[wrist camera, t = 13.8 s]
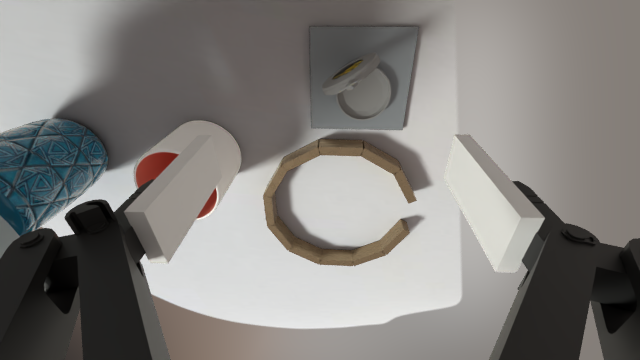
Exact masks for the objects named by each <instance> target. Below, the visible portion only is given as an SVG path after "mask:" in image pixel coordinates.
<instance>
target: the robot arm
mask: <svg viewBox="0 0 640 360" xmlns="http://www.w3.org/2000/svg"><path fill="white" fill-rule="evenodd" d="M221 178H222V174H221V170H220V167H219V163H218V159H217V155H216V151H215V147H214V143H213V139H212V135H198V136H197V137H196V138H195V139H194V140H193V141H192V142H191V143H190V144H189V145H188V146H187V147H186V148H185V149H184V150H183V151H182V152H181V153H180V154H179V155H178V156H177V157H176V158H175V159H174V160H173V162H172V163H171V164H170V165H169V166H168V167H167V168H166V169H165V170H164V171H163V172H162V173H161V174H160V175H159V176H158V177H157V178H156V179H151V180H150V181H148V182H146V183H145V184H143V185H141V186H140V187H139V188H138V189H137V190H136V191H135V193H134V194H132V195H131V196H130V197H129V199H127V200H126V201H125V202H124V203H123V204H122V205H121V206H120V207H119V208H118V209H117V210H116V211H115V212H114V213H113V211H112V209H111V207H110V205H109V203H108V202H107V201H105V200H92V201H88V202H85V203H82V204H80V205H77V206H76V207H74V208H72V209H71V210H70V211H69V212H68V213H67V214H66V216H65V220H66V221H67V223H68V224H69V226H70V227H71V229H72V230H73V232H74V233H75V234H73V235H68V236H63V237H58V236H57V234H56V233H55V232H54V231H53V230H52V229H49V228H44V229H37V230H34V231H30V232H28V233H26V234H23V235H21V236H20V237H19V238H17V239H16V240H14V241H13V242H12V243H11V244H10V245H9V246H8V248H7V249H6V251H5V252H4V254H3V255H2V257H1V258H0V360H65V357H66V353H67V350H68V347H69V343H70V340H71V336H72V333H73V329H74V326H75V322H76V319H77V316H78V313H79V309H80V312H81V330H82V347H83V360H171V359H170V356H169V353H168V349H167V346H166V343H165V340H164V336H163V333H162V329H161V326H160V323H159V319H158V316H157V313H156V309H155V306H154V303H153V300H152V296H151V293H150V289H149V286H148V283H147V279H146V276H145V273H144V269H143V266H142V264H141V262H140V259H141V258H142V257H143V255H144V254H146V256H147V258H148V260H149V262H150V263H166V264H168V263H169V261H170V260H171V258H172V256H173V255H174V253H175V252H176V250H177V248H178V247H179V245H180V244H181V242H182V240H183V239H184V237H185V236H186V234H187V232H188V231H189V229H190V228H191V226H192V224H193V223H194V221H195V220H196V218H197V216H198V215H199V213H200V212H201V210H202V208H203V207H204V205H205V204H206V202H207V200H208V199H209V197H210V196H211V194H212V192H213V191H214V189H215V188H216V186H217V184H218V183H219V181H220V180H221ZM444 180H445V182H446V184H447V185H448V187H449V189H450V191H451V193H452V194H453V196H454V198H455V200H456V202H457V203H458V205H459V207H460V209H461V211H462V212H463V214H464V216H465V218H466V220H467V221H468V223H469V225H470V227H471V228H472V230H473V232H474V234H475V236H476V237H477V239H478V241H479V243H480V245H481V246H482V248H483V250H484V252H485V254H486V255H487V257H488V259H489V261H490V263H491V264H492V266H493V268H494V270H495V271H496V272H513V273H516V272H517V270H518V268H519V267H520V265H521V263H522V262H523V263H524V265H525V266H526V268H527V269H528V271H527V273H526V275H525V276H524V278H523V280H522V282H521V284H520V285H519V287H518V290H519V291H518V293H517V295H516V298H515V300H514V302H513V305H512V307H511V309H510V312H509V314H508V316H507V319H506V321H505V323H504V326H503V328H502V330H501V333H500V335H499V337H498V340H497V342H496V345H495V347H494V349H493V351H492V354H491V356H490V359H489V360H579V356H580V350H581V345H582V340H583V334H584V329H585V324H586V319H587V314H588V308H589V303H590V301H591V305H592V309H593V313H594V318H595V323H596V327H597V331H598V336H599V340H600V344H601V349H602V353H603V357H604V360H640V238H639V239H632V240H631V241H629V243H628V244H627V245H626V246H625V247H624V248H622V247H617V246H612V245H608V244H603V243H600V242H599V240H598V239H597V238H596V237H595V236H594V235H593V234H592V233H590V232H589V231H587V230H585V229H583V228H581V227H578V226H575V225H571V224H565V223H564V222H563V221H561V219H560V218H559V217H558V216H557V215H556V214H555V213H554V212H553V211H552V210H551V209H550V208H549V207H548V206H547V205H546V204H544V202H543V201H542V200H541V199H540V198H539V197H538V196H537V195H536V194H535V192H534V191H533V190H531V189H530V188H529V187H528V186H526V185H524V184H523V183H521V182H519V181H511V180H510V179H509V178H508V176H507V175H506V174H505V173H504V172H503V171H502V170H501V169H500V168H499V167H498V165H497V164H496V163H495V162H494V161H493V160H492V159H491V158H490V157H489V156H488V154H487V153H486V152H485V151H484V150H483V149H482V148H481V147H480V146H479V145H478V143H477V142H476V141H475V140H474V139H473V138H472V137H471V136H470V135H454V139H453V143H452V147H451V151H450V155H449V159H448V163H447V167H446V171H445V175H444Z"/></svg>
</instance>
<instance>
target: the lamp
mask: <svg viewBox="0 0 640 360" xmlns="http://www.w3.org/2000/svg"><path fill="white" fill-rule="evenodd" d="M107 165H108V156H107V152H106V149H105V147H104V145H103V143H102V142H101V141H100V139H99V138H98V137H97V136H96V135H95V134H94V133H93V132H92V131H90V130H89V129H88V128H86V127H84V126H83V125H81V124H78V123H76V122H73V121H70V120H66V119H57V118H54V119H45V120H40V121H36V122H32V123H29V124H26V125H23V126H20V127H17V128H13V129H10V130H8V131H5V132H2V133H0V258H1V257H2V255H3V254H4V252H5V251H6V249H7V248H8V246H9V245H10V244H11V243H12V242H13V241H14V240H16V239H17V238H19V237H20V236H21V235H23V234H26V233H28V232H30V231H34V230H37V229H38V228H40V227H41V226H43V225H44V224H45V223H47V222H48V221H49V220H51V219H52V218H53V217H55V216H56V215H57V214H58V213H60V212H61V211H62V210H64V209H65V208H66V207H67V206H69V205H70V204H71V203H72V202H74V201H75V200H76V199H77V198H78V197H80V196H81V195H82V194H83V193H85V192H86V191H87V190H88V189H89V188H90V187H91V186H93V185H94V184H95V183H96V182H97V181H98V180H99V179H100V178H101V176H102V175H103V174H104V172H105V171H106V168H107Z"/></svg>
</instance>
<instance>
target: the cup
mask: <svg viewBox="0 0 640 360" xmlns="http://www.w3.org/2000/svg"><path fill="white" fill-rule="evenodd" d="M198 135H212V139H213V143H214V147H215V151H216V155H217V159H218V163H219V167H220V170H221V174H222V178H221V180H220V181H219V183H218V184H217V186H216V188H215V189H214V191H213V192H212V194H211V196H210V197H209V199H208V200H207V202H206V204H205V205H204V207H203V208H202V210H201V212H200V213H199V215H198V216H197V218H196V220H199V219H203V218H205V217H207V216H209V215H210V214H212V213H213V212H214V211H215V209H216V208H217V206H218V205H219V203H220V201H221V200H222V198H223V196H224V195H225V193H226V191H227V190H228V188H229V186H230V185H231V183H232V181H233V180H234V178H235V176H236V175H237V173H238V171H239V169H240V166H241V152H240V148H239V146H238V144H237V142H236V140H235V139H234V138H233V136H232V135H231V134H230V133H229V132H228V131H226V130H225V129H224V128H222V127H221V126H219V125H217V124H214V123H212V122H208V121H201V120H196V121H190V122H187V123H184V124H182V125H181V126H179V127H178V128H177V129H175V130H174V131H173V132H172V133H170V134H169V135H168V136H167V137H165V138H164V139H163V140H162V141H160V142H159V143H158V144H156V145H155V146H154V147H153V148H151V149H150V150H149V151H148V152H146V153H145V154H144V155H142V156H141V157H140V158H139V160H138V161H137V163H136V165H135V168H134V181H135V184H136V187H137V189H138V188H139V187H140V186H141V185H143V184H145V183H146V182H148V181H150V180H151V179H156V178H157V177H158V176H159V175H160V174H161V173H162V172H163V171H164V170H165V169H166V168H167V167H168V166H169V165H170V164H171V163H172V162H173V160H174V159H175V158H176V157H177V156H178V155H179V154H180V153H181V152H182V151H183V150H184V149H185V148H186V147H187V146H188V145H189V144H190V143H191V142H192V141H193V140H194V139H195V138H196V137H197V136H198Z"/></svg>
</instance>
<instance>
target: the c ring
mask: <svg viewBox="0 0 640 360" xmlns="http://www.w3.org/2000/svg"><path fill="white" fill-rule="evenodd" d="M320 155H338V156H362V157H363V158H365V159H367V160H369V161H370V162H372V163H374V164H376V165H378V166H379V167H381V168H383V169H385V170H386V171H388V172H390V173H392V174H394V176H395V178H396V180H397V182H398V184H399V186H400V188H401V190H402V192H403V194H404V196H405V198H406V199H407V201H408V203H412V202H414V201H417V200H416V197H415V195H414V192H413V190H412V188H411V186H410V184H409V182H408V180H407V178H406V175H405V173H404V171H403V169H402V167H401V165H400V163H399V161H398V160H397V159H395V158H393V157H391V156H390V155H388V154H386V153H384V152H383V151H381V150H379V149H378V148H376V147H374V146H372V145H371V144H369V143H367V142H365V141H364V140H363V142H362V140H342V139H320V141H319V139H318V140H316V141H314V142H312V143H310V144H308V145H306V146H305V147H303V148H301V149H299V150H297V151H295V152H293V153H291V154H289V155H287V156H285V157H284V158H283V159H282V161H281V163H280V164H279V166H278V168H277V170H276V171H275V173H274V175H273V176H272V178H271V180H270V182H269V183H268V185H267V187H266V190H265V192H264V195H263V199H264V206H265V214H266V221H267V226H268V228H269V229H270V230H271V231H272V233H273V234H274V235H275V236H276V237H277V239H278V240H279V241H280V242H281V243H282V244H283V246H284V247H285V248H286V249H287V250H289V251H290V252H292V253H294V254H297V255H299V256H301V257H303V258H306V259H308V260H310V261H312V262H314V263H317V264H320V265H341V266H353V265H354V266H356V265H359V264H362V263H365V262H367V261H370V260H373V259H376V258H379V257H382V256H385V255H387V254H388V253H389V252H390V251H391V250H392V249H393V248H394V247H395V246H396V245H397V244H399V243H400V242H401V241H402V240H403V239H404V238H405V237H406V236H407V235H408V234H409V233H410V232H409V229H408V225H407V222H405V221H403V220H402V219H400V220H399V221H398V222H397V223H396V224H395V225H394V226H393V227H392V228H391V229H390V230H389V231H388V233H387V234H386V235H385V236H384V237H383V238H382V239H381V240H379V241H376V242H374V243H371V244H368V245H365V246H362V247H360V248H357V249H354V250H335V249H321V248H318V247H316V246H314V245H312V244H310V243H308V242H305V241H303V240H301V239H299V238H297V237H295V236H294V235H293V234H292V232H291V231H290V230H289V229H288V228H287V226H286V225H285V224H284V223H283V221H282V220H281V219H280V218H279V216H278V215H277V206H276V197H275V191H276V189H277V187H278V186H279V184H280V183H281V181H282V179H283V178H284V176H285V174H286V173H287V171H289V170H291V169H293V168H295V167H297V166H299V165H301V164H303V163H305V162H307V161H309V160H311V159H313V158H315V157H317V156H320Z"/></svg>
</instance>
